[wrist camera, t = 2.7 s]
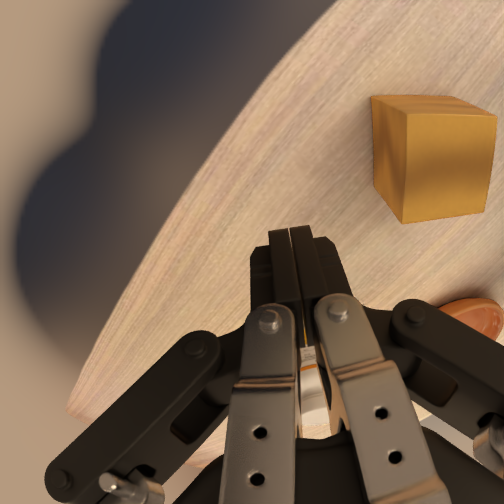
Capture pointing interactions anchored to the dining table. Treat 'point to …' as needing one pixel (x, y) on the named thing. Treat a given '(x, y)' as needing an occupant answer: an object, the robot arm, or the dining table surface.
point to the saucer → (478, 315)
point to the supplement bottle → (311, 390)
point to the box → (432, 155)
